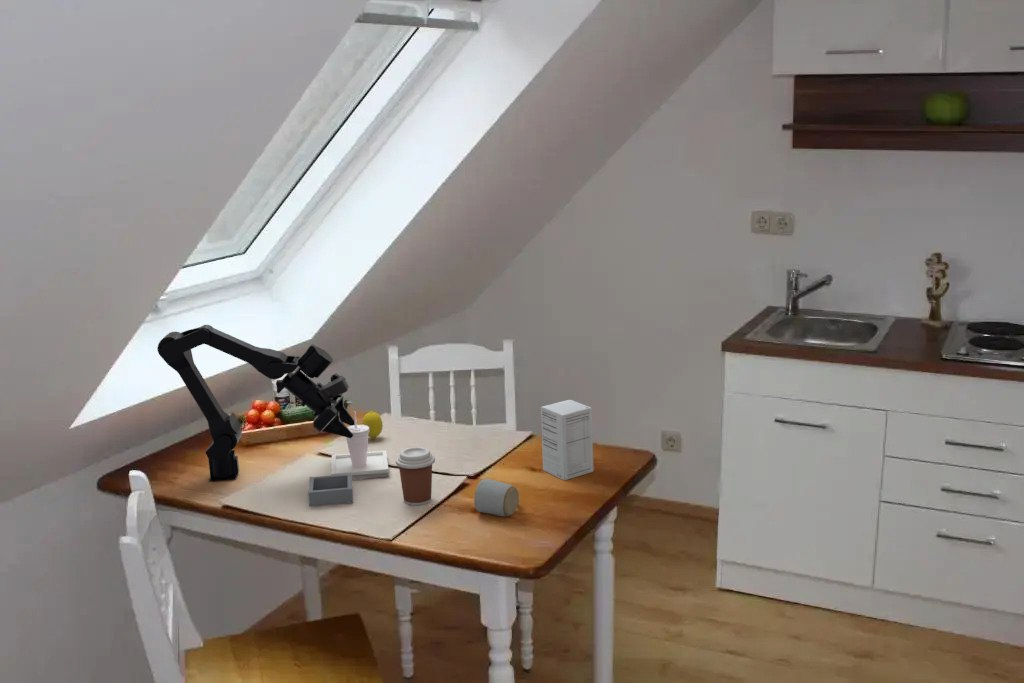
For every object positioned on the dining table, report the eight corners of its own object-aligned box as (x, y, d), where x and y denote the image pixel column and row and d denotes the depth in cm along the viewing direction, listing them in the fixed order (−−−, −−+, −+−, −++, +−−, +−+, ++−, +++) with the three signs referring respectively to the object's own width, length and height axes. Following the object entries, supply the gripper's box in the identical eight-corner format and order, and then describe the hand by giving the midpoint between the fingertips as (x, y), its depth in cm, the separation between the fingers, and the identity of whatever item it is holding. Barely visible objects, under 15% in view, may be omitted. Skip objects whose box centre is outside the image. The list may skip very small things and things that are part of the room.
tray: (331, 481, 260) (331, 473, 260) (332, 462, 274) (331, 454, 273) (388, 476, 262) (388, 469, 262) (386, 457, 276) (386, 450, 275)
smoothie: (367, 458, 272) (363, 406, 269) (375, 466, 266) (371, 413, 263) (343, 463, 269) (339, 410, 266) (351, 470, 264) (347, 417, 260)
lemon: (359, 441, 289) (357, 413, 287) (369, 434, 294) (367, 407, 292) (377, 443, 287) (375, 415, 285) (386, 436, 292) (385, 409, 290)
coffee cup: (435, 491, 252) (432, 443, 249) (439, 505, 243) (436, 456, 240) (396, 494, 251) (393, 447, 248) (399, 509, 242) (396, 460, 239)
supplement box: (572, 461, 268) (570, 398, 264) (594, 472, 261) (593, 406, 257) (541, 470, 263) (539, 405, 259) (563, 481, 256) (562, 414, 252)
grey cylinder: (506, 522, 233) (505, 489, 231) (473, 516, 237) (472, 484, 235) (527, 506, 242) (527, 474, 240) (496, 500, 246) (495, 469, 244)
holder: (309, 506, 245) (308, 492, 244) (310, 490, 255) (309, 477, 254) (352, 502, 247) (351, 488, 246) (352, 487, 256) (351, 473, 255)
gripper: (323, 377, 252) (372, 419, 256) (331, 358, 270) (377, 397, 274) (292, 410, 254) (342, 451, 257) (302, 388, 272) (348, 427, 275)
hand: (353, 430), depth 266 cm, fingers open, 9 cm apart
